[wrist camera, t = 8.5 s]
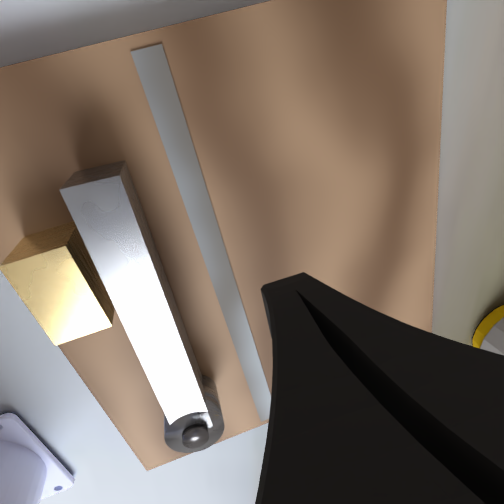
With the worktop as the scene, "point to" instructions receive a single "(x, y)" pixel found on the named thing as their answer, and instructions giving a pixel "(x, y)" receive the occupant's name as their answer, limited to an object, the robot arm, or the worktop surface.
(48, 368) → the worktop surface
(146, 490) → the worktop surface
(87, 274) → the light wood small block
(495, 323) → the soap bottle
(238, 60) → the latch board
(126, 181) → the swing bar
